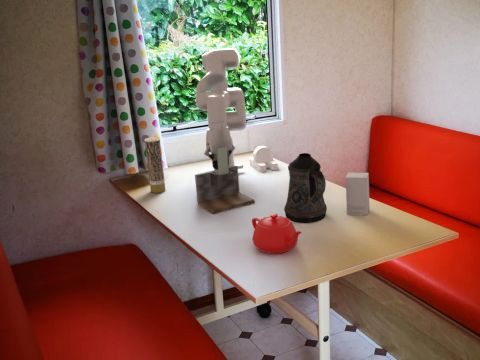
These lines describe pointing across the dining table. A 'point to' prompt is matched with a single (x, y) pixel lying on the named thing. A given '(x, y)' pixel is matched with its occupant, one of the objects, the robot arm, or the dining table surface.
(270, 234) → the teapot
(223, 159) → the rail post
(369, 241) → the dining table surface
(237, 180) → the bracket stand
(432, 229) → the dining table surface
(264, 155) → the white slotted holder
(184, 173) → the dining table surface
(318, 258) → the dining table surface
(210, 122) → the robot arm
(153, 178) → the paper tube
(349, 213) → the skincare box
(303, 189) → the beer stein
